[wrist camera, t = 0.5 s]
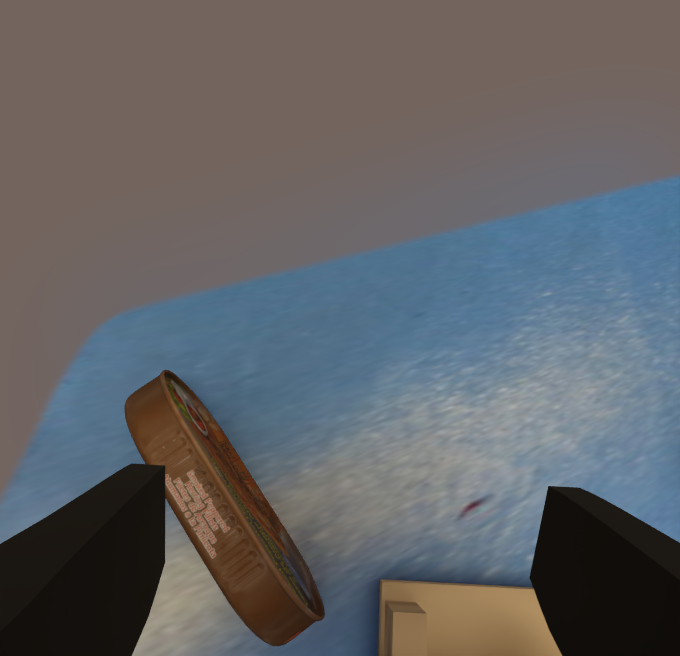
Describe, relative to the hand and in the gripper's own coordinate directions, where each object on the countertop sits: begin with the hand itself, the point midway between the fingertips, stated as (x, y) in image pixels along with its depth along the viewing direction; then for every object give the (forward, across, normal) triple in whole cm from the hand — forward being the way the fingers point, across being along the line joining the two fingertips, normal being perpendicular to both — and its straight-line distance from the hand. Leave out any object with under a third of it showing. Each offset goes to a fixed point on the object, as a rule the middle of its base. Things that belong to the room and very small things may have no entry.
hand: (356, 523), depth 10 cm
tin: (+20, +5, +12) cm, 24 cm away
